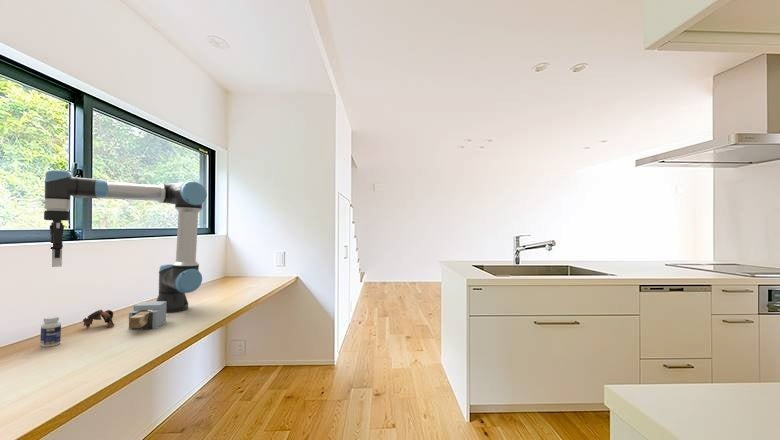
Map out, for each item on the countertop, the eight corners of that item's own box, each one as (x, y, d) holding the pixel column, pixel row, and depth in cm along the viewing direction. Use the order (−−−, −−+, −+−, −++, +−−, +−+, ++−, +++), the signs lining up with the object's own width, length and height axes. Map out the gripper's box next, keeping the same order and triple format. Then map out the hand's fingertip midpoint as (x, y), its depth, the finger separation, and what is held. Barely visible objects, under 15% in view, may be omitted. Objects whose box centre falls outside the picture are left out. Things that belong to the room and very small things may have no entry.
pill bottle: (44, 348, 130) (45, 320, 130) (37, 345, 132) (37, 318, 132) (63, 343, 135) (64, 316, 135) (55, 341, 137) (56, 314, 137)
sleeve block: (141, 322, 166) (141, 301, 166) (166, 321, 168) (166, 301, 168) (128, 329, 153) (128, 307, 154) (155, 328, 156) (155, 307, 156)
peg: (141, 320, 159) (142, 311, 159) (152, 320, 160) (152, 310, 160) (128, 328, 147) (128, 318, 147) (140, 327, 148) (140, 317, 148)
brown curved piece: (107, 331, 153) (95, 315, 151) (86, 340, 153) (74, 324, 151) (124, 316, 165) (113, 301, 162) (105, 325, 165) (93, 310, 162)
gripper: (42, 210, 151) (41, 262, 151) (45, 209, 134) (43, 268, 133) (67, 211, 157) (65, 261, 156) (73, 210, 139) (71, 267, 139)
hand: (55, 265), depth 145 cm, fingers open, 13 cm apart
